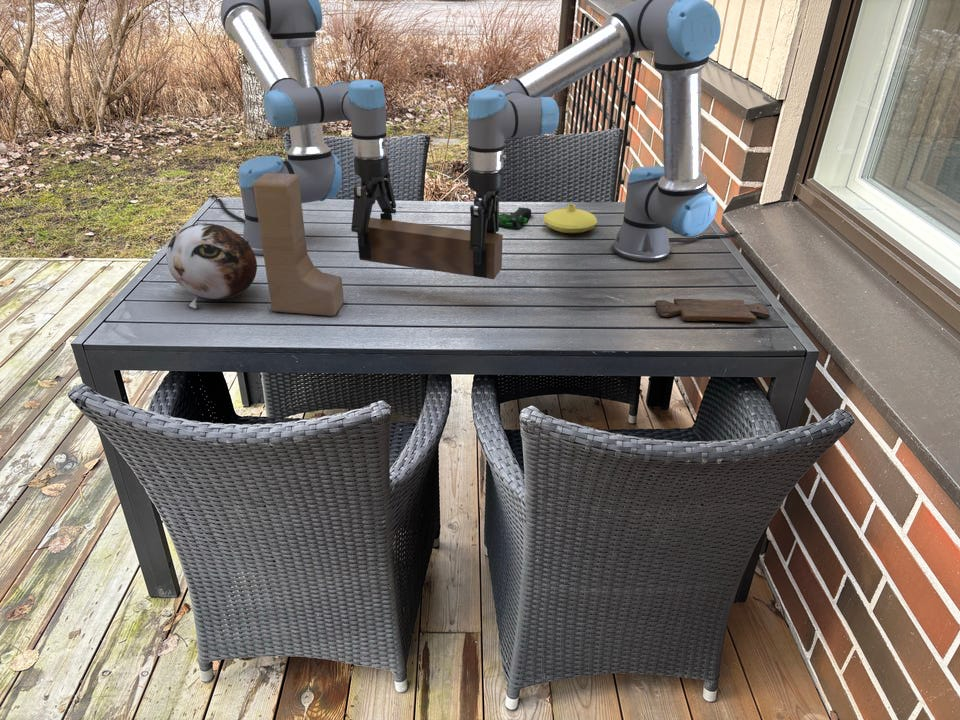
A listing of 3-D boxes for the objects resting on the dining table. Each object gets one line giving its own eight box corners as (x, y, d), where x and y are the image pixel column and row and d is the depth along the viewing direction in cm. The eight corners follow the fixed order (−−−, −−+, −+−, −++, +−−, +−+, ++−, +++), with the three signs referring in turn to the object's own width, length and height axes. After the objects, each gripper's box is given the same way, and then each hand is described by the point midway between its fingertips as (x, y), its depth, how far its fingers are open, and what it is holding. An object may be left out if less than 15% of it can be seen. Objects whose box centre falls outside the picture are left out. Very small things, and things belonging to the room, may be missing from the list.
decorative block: (334, 317, 160) (321, 185, 145) (271, 312, 162) (251, 181, 147) (344, 302, 167) (333, 175, 151) (283, 298, 168) (265, 171, 153)
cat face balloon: (130, 285, 161) (164, 203, 163) (192, 308, 177) (221, 233, 178) (195, 307, 151) (229, 220, 152) (254, 330, 166) (285, 250, 168)
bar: (359, 259, 168) (356, 225, 163) (370, 250, 172) (368, 217, 168) (493, 279, 159) (494, 243, 155) (501, 269, 164) (502, 234, 159)
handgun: (537, 208, 218) (520, 221, 206) (536, 217, 220) (520, 231, 208) (488, 201, 224) (469, 214, 212) (488, 211, 225) (469, 224, 213)
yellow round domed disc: (559, 216, 220) (561, 193, 217) (605, 227, 212) (608, 204, 209) (532, 230, 209) (533, 207, 206) (580, 242, 201) (582, 218, 198)
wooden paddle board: (775, 325, 161) (761, 305, 169) (777, 318, 160) (763, 299, 168) (660, 321, 161) (652, 301, 169) (661, 314, 160) (653, 295, 169)
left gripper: (362, 172, 146) (369, 270, 157) (407, 144, 166) (411, 233, 177) (329, 168, 148) (338, 265, 159) (378, 141, 168) (383, 230, 179)
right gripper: (489, 183, 141) (487, 289, 153) (515, 159, 157) (511, 257, 169) (453, 179, 143) (454, 284, 155) (482, 156, 159) (481, 253, 171)
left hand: (376, 249), depth 168 cm, fingers open, 11 cm apart
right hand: (484, 270), depth 162 cm, fingers closed on bar, 6 cm apart
